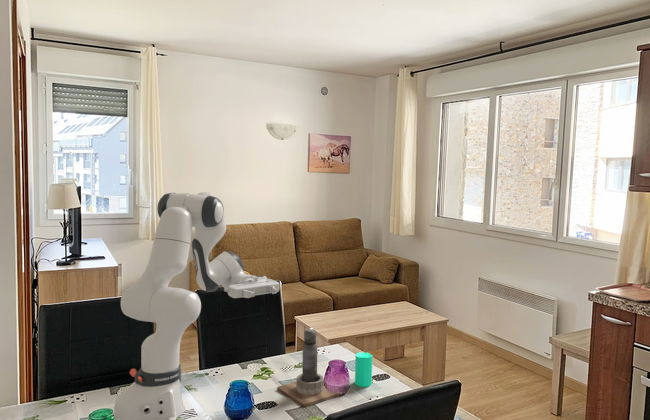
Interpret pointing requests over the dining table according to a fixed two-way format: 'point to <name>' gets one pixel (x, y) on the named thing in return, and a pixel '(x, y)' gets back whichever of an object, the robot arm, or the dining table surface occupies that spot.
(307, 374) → the pepper mill
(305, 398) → the ring holder
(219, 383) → the dining table surface
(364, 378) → the candle
